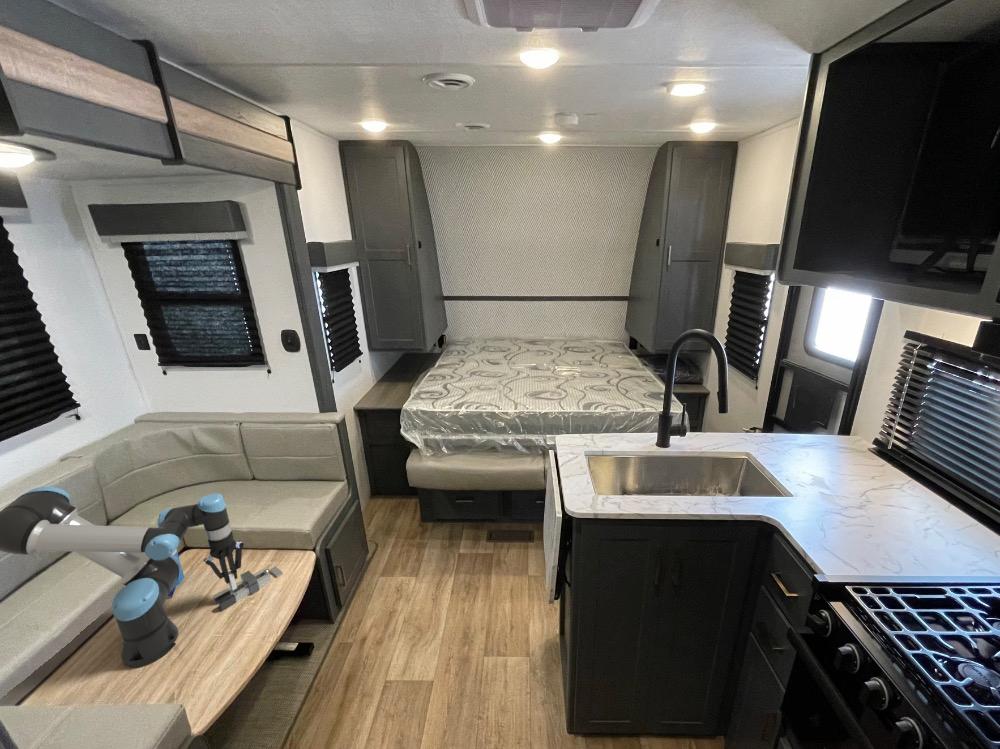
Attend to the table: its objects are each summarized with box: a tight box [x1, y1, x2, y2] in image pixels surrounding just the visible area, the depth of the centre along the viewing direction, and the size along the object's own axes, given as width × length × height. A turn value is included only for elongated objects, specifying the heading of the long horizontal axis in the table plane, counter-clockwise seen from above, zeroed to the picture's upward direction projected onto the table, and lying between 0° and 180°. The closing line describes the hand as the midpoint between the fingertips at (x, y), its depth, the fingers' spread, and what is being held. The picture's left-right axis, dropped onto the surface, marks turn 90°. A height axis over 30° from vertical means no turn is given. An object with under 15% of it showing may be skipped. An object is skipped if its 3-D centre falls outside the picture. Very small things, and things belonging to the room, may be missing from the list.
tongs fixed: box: [217, 566, 284, 612], centre depth 166 cm, size 23×6×3 cm, turn 144°
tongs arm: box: [212, 568, 271, 605], centre depth 166 cm, size 19×4×4 cm, turn 140°
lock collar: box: [240, 570, 261, 596], centre depth 166 cm, size 3×7×6 cm, turn 54°
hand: (233, 587), depth 161 cm, fingers closed
